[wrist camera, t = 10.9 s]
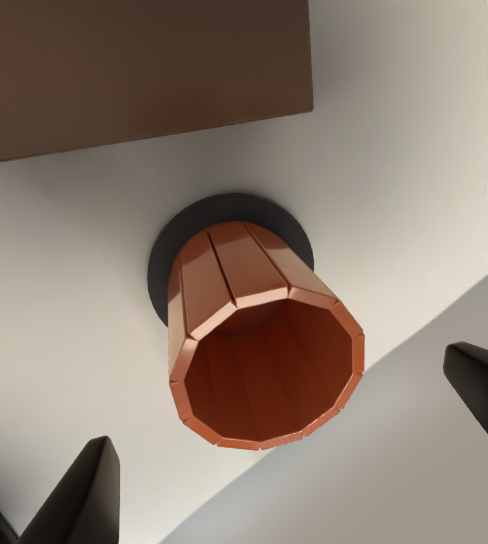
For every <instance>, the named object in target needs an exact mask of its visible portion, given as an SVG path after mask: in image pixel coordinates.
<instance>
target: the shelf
mask: <svg viewBox="0 0 488 544" xmlns="http://www.w3.org/2000/svg"><path fill="white" fill-rule="evenodd" d="M313 109H314V106H313V86H312V66H311V46H310V26H309V6H308V0H0V163H1V162H7V161H13V160H19V159H25V158H31V157H38V156H44V155H50V154H56V153H62V152H68V151H74V150H81V149H87V148H93V147H99V146H105V145H111V144H118V143H124V142H130V141H136V140H142V139H148V138H154V137H161V136H167V135H173V134H179V133H185V132H191V131H197V130H204V129H210V128H216V127H222V126H228V125H234V124H241V123H247V122H253V121H259V120H265V119H271V118H277V117H284V116H290V115H296V114H302V113H308V112H312V111H313Z"/></svg>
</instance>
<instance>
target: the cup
mask: <svg viewBox="0 0 488 544" xmlns="http://www.w3.org/2000/svg"><path fill="white" fill-rule="evenodd" d="M364 340H365V335H364V333H363V329H362V328H361V326H360V325H359V324H358V322H357V321H356V320H355V319H354V317H353V316H352V315H351V313H350V312H349V311H348V309H347V308H346V307H345V306H344V304H343V303H342V302H341V300H340V299H339V298H338V297H337V296H336V295H335V294H334V293H333V292H332V291H331V290H330V289H329V288H328V287H327V286H326V285H325V284H324V283H323V282H322V281H321V280H320V279H319V278H318V277H317V275H316V274H315V273H314V272H313V271H312V270H311V269H310V268H309V267H308V266H307V265H306V264H305V263H304V262H303V261H302V260H301V259H300V258H299V257H298V256H297V255H296V254H295V253H294V252H293V251H292V250H291V249H290V248H289V247H288V245H287V244H286V243H285V242H284V241H283V240H282V239H281V238H280V237H279V236H278V235H276V234H275V233H273V232H271V231H270V230H268V229H266V228H265V227H262V226H260V225H258V224H254V223H251V222H245V221H227V222H221V223H218V224H214V225H212V226H209V227H207V228H205V229H203V230H201V231H199V232H198V233H196V234H195V235H194V236H192V237H191V238H190V239H189V240H188V241H187V242H186V243H185V244H184V245H183V247H182V248H181V249H180V251H179V252H178V254H177V256H176V257H175V260H174V262H173V265H172V268H171V272H170V279H169V282H168V348H169V386H170V389H171V392H172V395H173V399H174V402H175V405H176V408H177V412H178V415H179V418H180V420H182V422H183V424H184V425H186V426H187V427H189V428H190V429H191V430H193V431H194V432H196V433H197V434H198V435H200V436H201V437H203V438H204V439H206V440H207V441H208V442H210V443H211V444H213V445H215V444H216V443H217V446H218V447H227V448H237V449H246V450H255V451H258V450H259V448H260V449H261V450H265V449H268V448H272V447H275V446H279V445H282V444H285V443H289V442H293V441H296V440H300V439H302V438H303V435H304V436H308V435H309V434H311V433H312V432H314V431H315V430H316V429H317V428H319V427H320V426H322V425H323V424H324V423H326V422H327V421H328V420H330V419H331V418H333V417H334V416H335V415H337V414H338V413H339V412H340V410H339V408H340V409H343V408H344V406H345V404H346V403H347V401H348V400H349V398H350V396H351V394H352V393H353V391H354V389H355V388H356V386H357V384H358V383H359V381H360V379H361V378H362V376H363V374H362V372H363V371H364Z"/></svg>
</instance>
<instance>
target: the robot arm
mask: <svg viewBox="0 0 488 544" xmlns="http://www.w3.org/2000/svg"><path fill="white" fill-rule="evenodd" d="M443 371H444V374H445V376H446V378H447V379H448V381H449V382H450V383H451V385H452V386H453V388H454V389H455V390H456V391H457V393H458V394H459V396H460V397H461V399H462V400H463V401H464V403H465V404H466V405H467V407H468V408H469V410H470V411H471V412H472V414H473V415H474V417H475V418H476V419H477V421H478V422H479V423H480V424H481V426H482V427H483V428H484V430H485V431H486V432H487V433H488V350H487V349H484V348H481V347H478V346H475V345H472V344H469V343H466V342H457V343H453V344H449V345H448V346H447V347H446V350H445V357H444V364H443ZM119 513H120V462H119V458H118V455H117V453H116V451H115V449H114V446H113V444H112V442H111V439H110V438H109V437H108V436H102V437H98V438H94V439H91V440H90V441H89V442H88V443H87V444H86V445H85V447H84V448H83V450H82V451H81V452H80V454H79V455H78V457H77V458H76V459H75V461H74V462H73V464H72V465H71V466H70V468H69V469H68V471H67V472H66V473H65V475H64V476H63V478H62V479H61V480H60V482H59V483H58V484H57V486H56V487H55V489H54V490H53V491H52V493H51V494H50V496H49V497H48V498H47V500H46V501H45V503H44V504H43V505H42V507H41V508H40V510H39V511H38V512H37V514H36V515H35V517H34V518H33V519H32V521H31V522H30V524H29V525H28V526H27V528H26V529H25V530H24V532H23V533H22V535H21V536H20V537H19V539H18V540H17V538H16V537H15V536H14V534H13V533H12V532H11V530H10V529H9V528H8V526H7V525H6V524H5V522H4V521H3V519H2V518H1V517H0V544H118V542H119Z"/></svg>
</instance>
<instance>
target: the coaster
mask: <svg viewBox="0 0 488 544" xmlns="http://www.w3.org/2000/svg"><path fill="white" fill-rule="evenodd" d="M227 221H245V222H251V223H254V224H258V225H260V226H262V227H265V228H266V229H268V230H270V231H271V232H273V233H275V234H276V235H278V236H279V237H280V238H281V239H282V240H283V241H284V242H285V243H286V244H287V245H288V247H289V248H290V249H291V250H292V251H293V252H294V253H295V254H296V255H297V256H298V257H299V258H300V259H301V260H302V261H303V262H304V263H305V264H306V265H307V266H308V267H309V268H310V269H311V270H312V271H313V272H314V259H313V252H312V249H311V245H310V242H309V240H308V238H307V235H306V233H305V232H304V230H303V229H302V227H301V226H300V224H299V223H298V222H297V221H296V220H295V219H294V218H293V217H292V216H291V215H290V214H289V213H288V212H287V211H285V210H284V209H283V208H281V207H280V206H278V205H276V204H275V203H273V202H271V201H269V200H266V199H264V198H261V197H258V196H254V195H248V194H237V193H230V194H221V195H216V196H212V197H208V198H205V199H203V200H201V201H198V202H196V203H194V204H192V205H190V206H189V207H187V208H185V209H184V210H183V211H181V212H180V213H179V214H177V215H176V216H175V217H174V218H173V219H172V220H171V221H170V222H169V223H168V224H167V225H166V227H165V228H164V229H163V231H162V232H161V233H160V235H159V237H158V239H157V240H156V242H155V245H154V247H153V250H152V252H151V256H150V260H149V266H148V277H147V280H148V290H149V295H150V299H151V302H152V304H153V307H154V309H155V311H156V313H157V315H158V316H159V318H160V319H161V320H162V322H163V323H164V324H165V325H166V326H167V327H168V282H169V279H170V272H171V268H172V265H173V262H174V260H175V257H176V256H177V254H178V252H179V251H180V249H181V248H182V247H183V245H184V244H185V243H186V242H187V241H188V240H189V239H190V238H191V237H192V236H194V235H195V234H196V233H198V232H199V231H201V230H203V229H205V228H207V227H209V226H212V225H214V224H218V223H221V222H227Z"/></svg>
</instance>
